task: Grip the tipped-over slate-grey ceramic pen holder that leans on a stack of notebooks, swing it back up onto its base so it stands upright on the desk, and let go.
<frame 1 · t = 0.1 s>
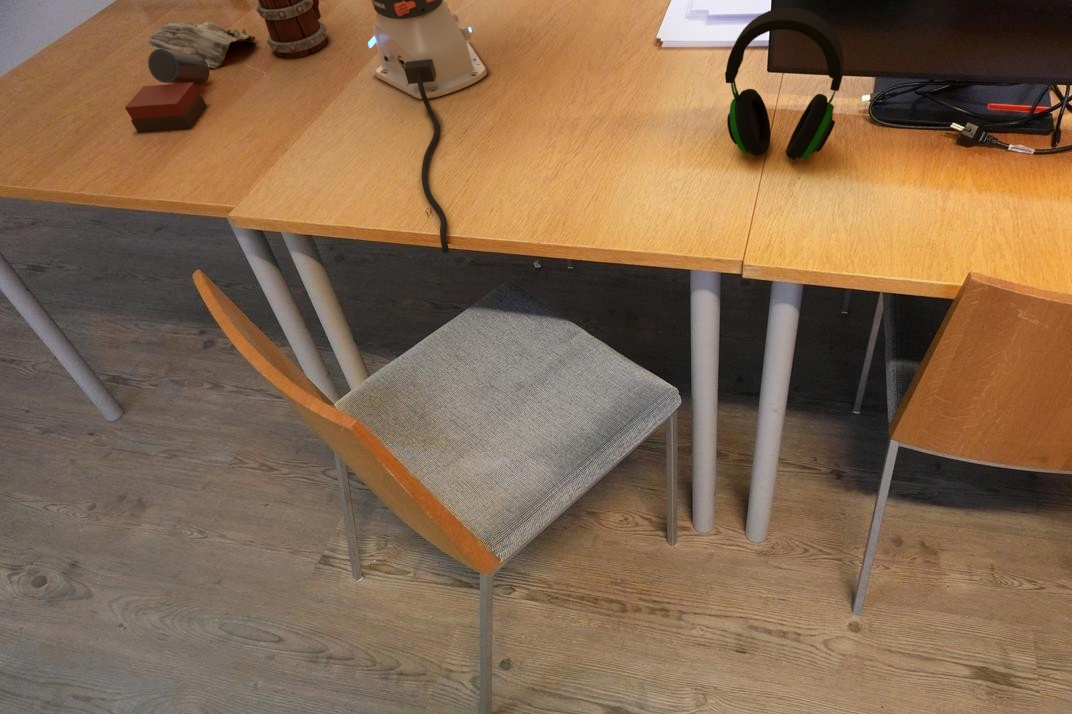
headphones: (776, 154, 114), on the table
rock: (208, 51, 159), on the table
notebooks: (172, 119, 140), on the table
mug: (305, 43, 157), on the table
pen holder: (179, 68, 142), point 5 cm above the table, hinge at 60.0°
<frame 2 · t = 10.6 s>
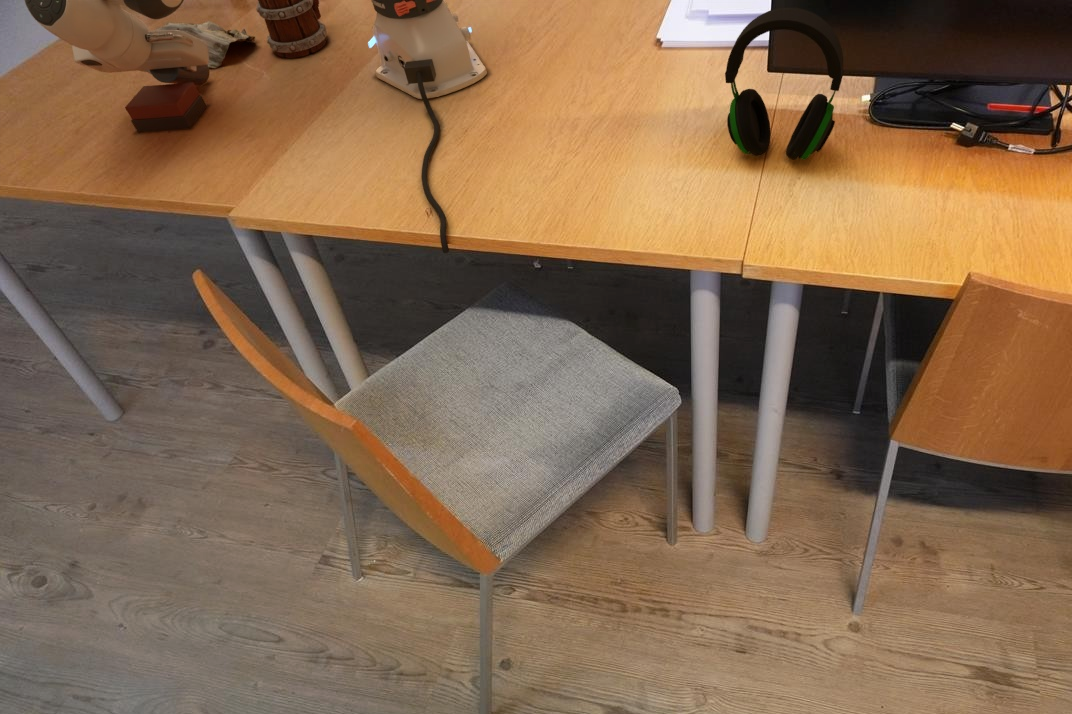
hand: (174, 68, 141), 6 cm above the table, tool tilted 45°, fingers closed on pen holder, 5 cm apart
pen holder: (179, 68, 142), point 5 cm above the table, hinge at 60.0°, touching gripper
everything else where it was.
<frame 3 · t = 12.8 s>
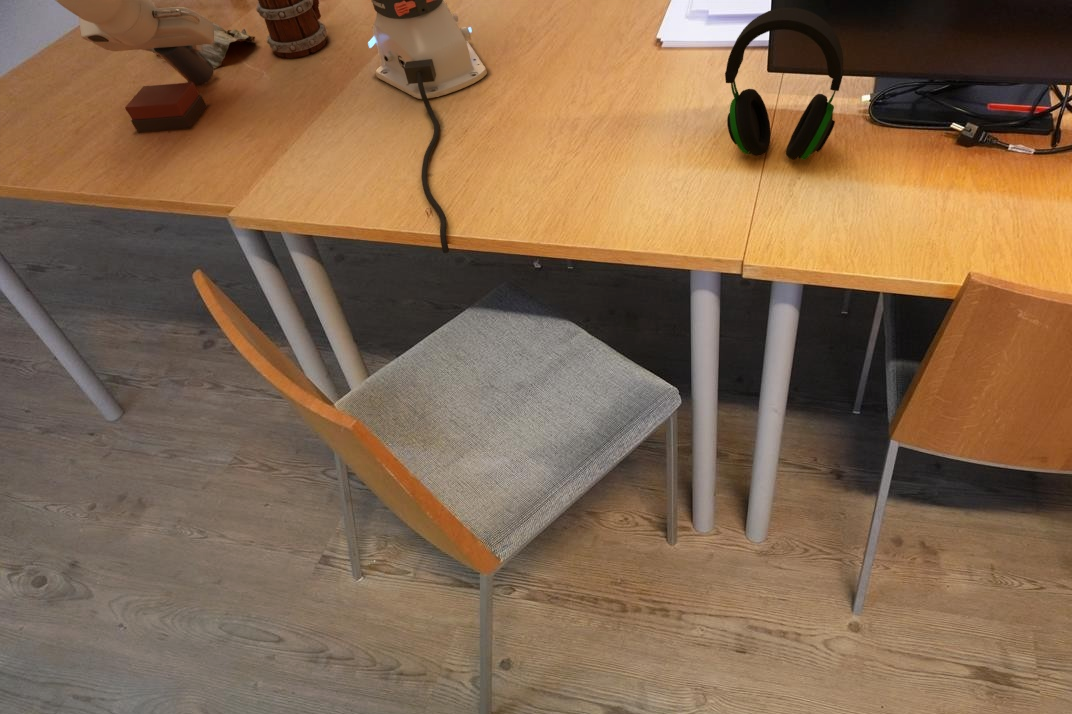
hand: (179, 49, 143), 7 cm above the table, tool tilted 45°, fingers closed on pen holder, 5 cm apart
pen holder: (183, 56, 144), point 6 cm above the table, hinge at 30.7°, touching gripper
everything else where it was.
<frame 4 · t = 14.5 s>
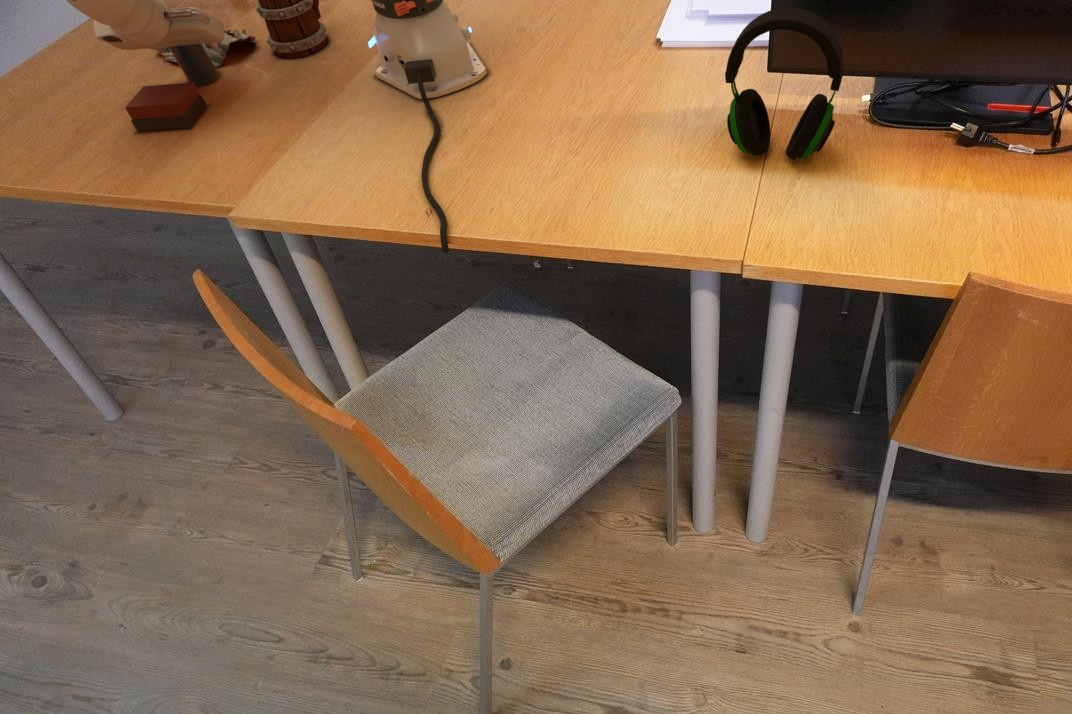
hand: (190, 46, 146), 6 cm above the table, tool tilted 45°, fingers open, 8 cm apart
pen holder: (189, 53, 146), point 5 cm above the table, hinge at 5.7°
everything else where it was.
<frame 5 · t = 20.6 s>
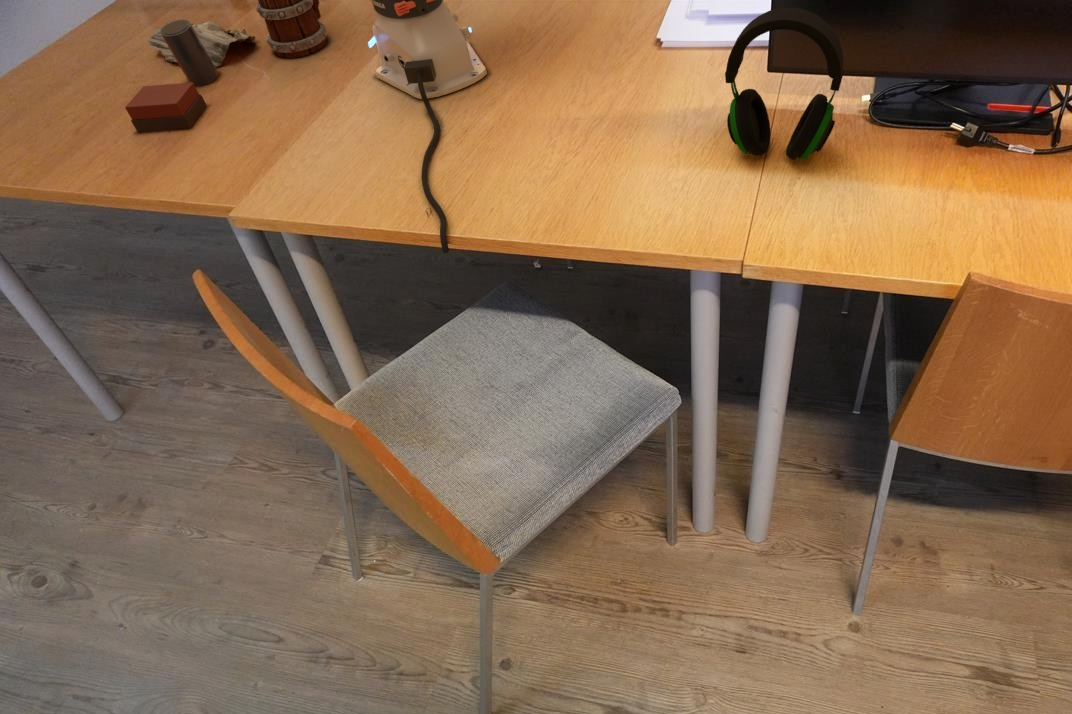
nothing on the table moved.
at the end: pen holder at +6° (first picture: +60°); the gripper is holding nothing; headphones moved 0.2 cm from its start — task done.
